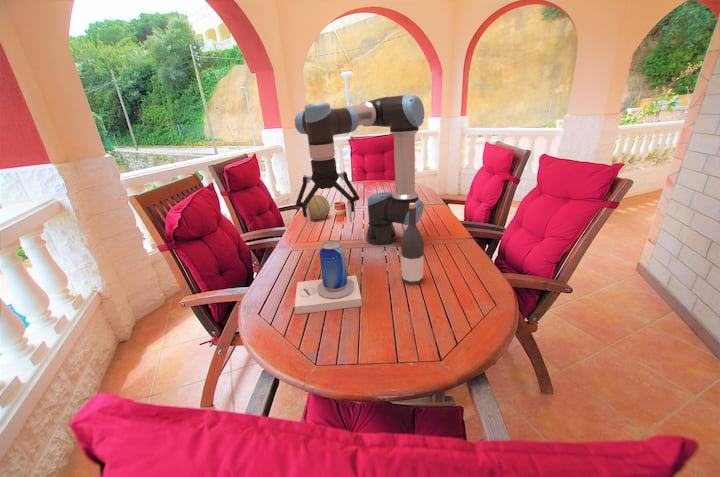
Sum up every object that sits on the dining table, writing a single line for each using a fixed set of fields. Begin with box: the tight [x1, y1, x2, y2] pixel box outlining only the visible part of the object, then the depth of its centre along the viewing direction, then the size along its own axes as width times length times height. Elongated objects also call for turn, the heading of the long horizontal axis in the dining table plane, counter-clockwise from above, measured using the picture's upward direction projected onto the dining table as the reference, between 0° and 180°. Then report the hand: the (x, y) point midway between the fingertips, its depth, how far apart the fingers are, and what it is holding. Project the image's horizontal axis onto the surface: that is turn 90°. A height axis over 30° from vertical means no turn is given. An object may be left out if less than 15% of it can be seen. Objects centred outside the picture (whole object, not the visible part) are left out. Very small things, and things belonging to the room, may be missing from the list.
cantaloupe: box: [307, 194, 331, 220], centre depth 191 cm, size 15×15×15 cm
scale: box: [294, 275, 363, 315], centre depth 111 cm, size 22×16×4 cm
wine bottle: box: [400, 203, 425, 286], centre depth 114 cm, size 8×8×30 cm
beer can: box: [318, 240, 348, 291], centre depth 108 cm, size 8×8×16 cm
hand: (330, 223), depth 104 cm, fingers open, 13 cm apart
